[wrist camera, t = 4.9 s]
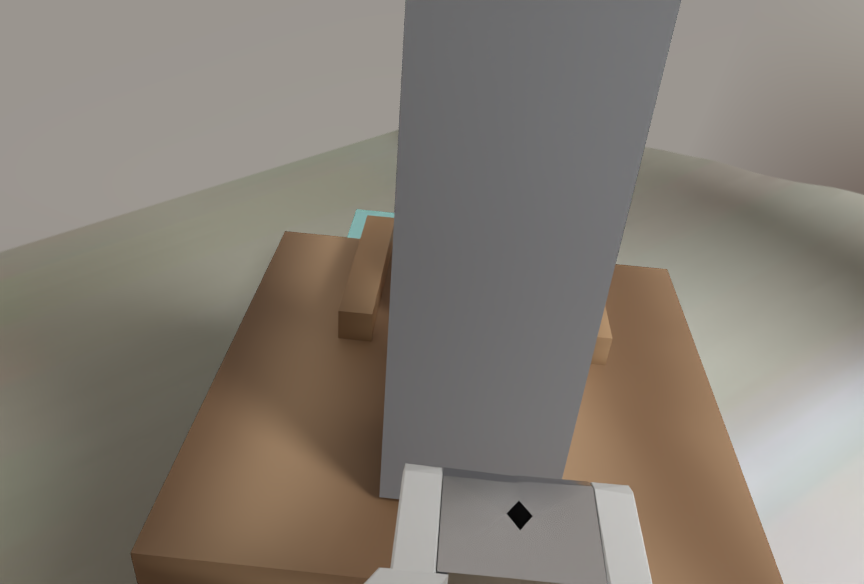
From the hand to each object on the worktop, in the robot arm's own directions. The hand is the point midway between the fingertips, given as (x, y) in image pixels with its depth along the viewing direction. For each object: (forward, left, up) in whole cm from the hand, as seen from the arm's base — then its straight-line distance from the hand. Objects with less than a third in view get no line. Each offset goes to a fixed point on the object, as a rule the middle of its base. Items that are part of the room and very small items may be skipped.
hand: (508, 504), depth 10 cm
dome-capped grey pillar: (0, -6, -6) cm, 8 cm away
